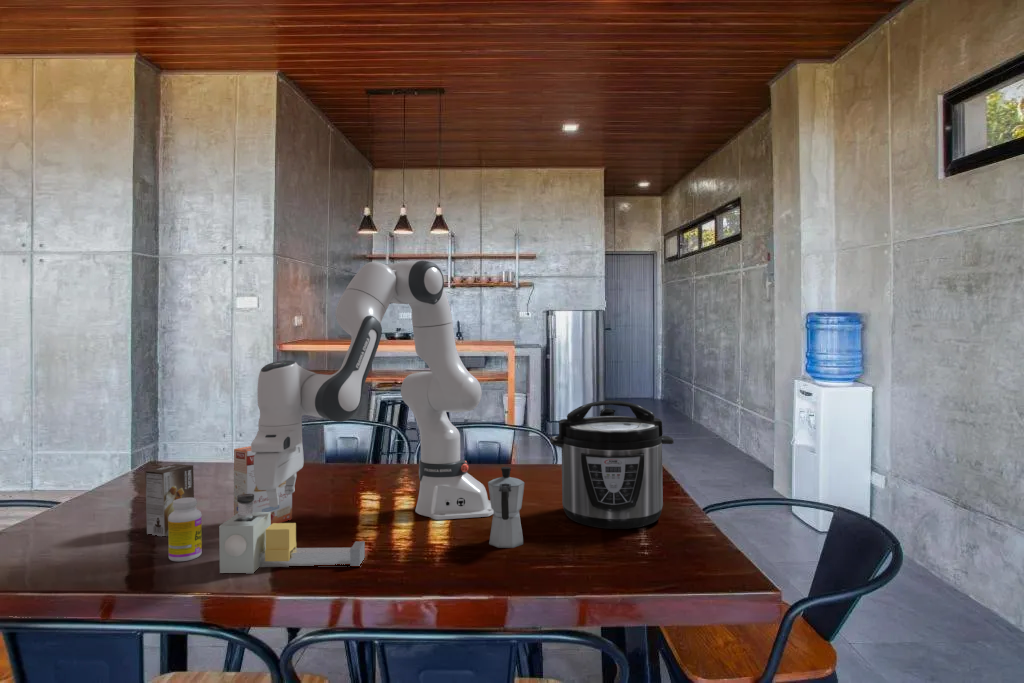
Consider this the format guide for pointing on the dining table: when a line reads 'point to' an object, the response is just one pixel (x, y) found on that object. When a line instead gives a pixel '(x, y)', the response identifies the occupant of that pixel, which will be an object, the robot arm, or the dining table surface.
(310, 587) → the dining table surface
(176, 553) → the supplement bottle
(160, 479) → the coffee box
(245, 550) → the cabinet
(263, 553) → the slide rail
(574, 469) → the pressure cooker
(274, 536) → the rail carriage
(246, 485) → the cracker box
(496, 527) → the coffee maker
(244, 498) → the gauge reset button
